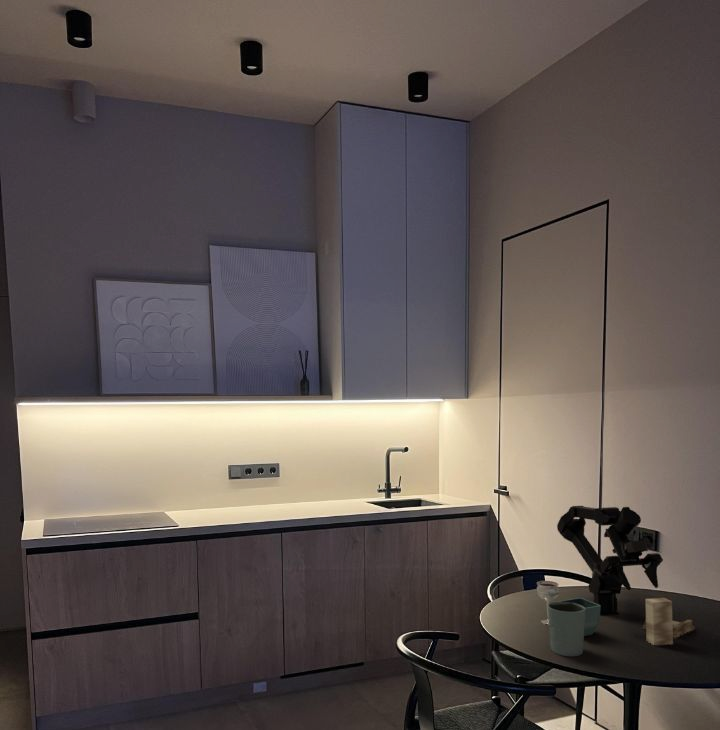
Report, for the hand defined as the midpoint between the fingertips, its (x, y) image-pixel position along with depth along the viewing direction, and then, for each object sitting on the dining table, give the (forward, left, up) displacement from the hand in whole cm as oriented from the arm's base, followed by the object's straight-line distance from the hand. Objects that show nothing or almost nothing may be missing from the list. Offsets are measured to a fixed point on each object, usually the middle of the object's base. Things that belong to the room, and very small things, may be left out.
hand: (643, 588), depth 199 cm
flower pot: (-19, +2, -13) cm, 24 cm away
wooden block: (0, -8, -13) cm, 15 cm away
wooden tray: (+9, +2, -13) cm, 16 cm away
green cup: (-29, -10, -13) cm, 34 cm away
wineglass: (-24, +13, -13) cm, 31 cm away
